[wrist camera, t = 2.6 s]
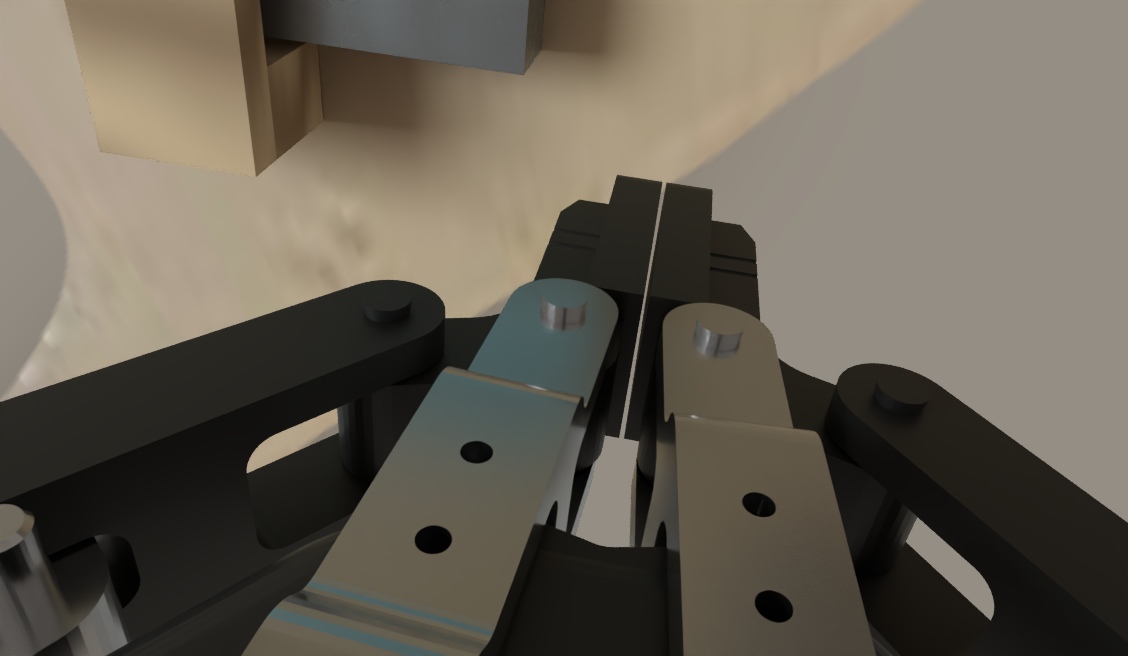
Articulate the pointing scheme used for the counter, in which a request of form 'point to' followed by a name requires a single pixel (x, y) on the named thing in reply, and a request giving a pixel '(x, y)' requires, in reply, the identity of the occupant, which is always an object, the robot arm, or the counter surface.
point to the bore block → (194, 82)
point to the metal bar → (417, 28)
